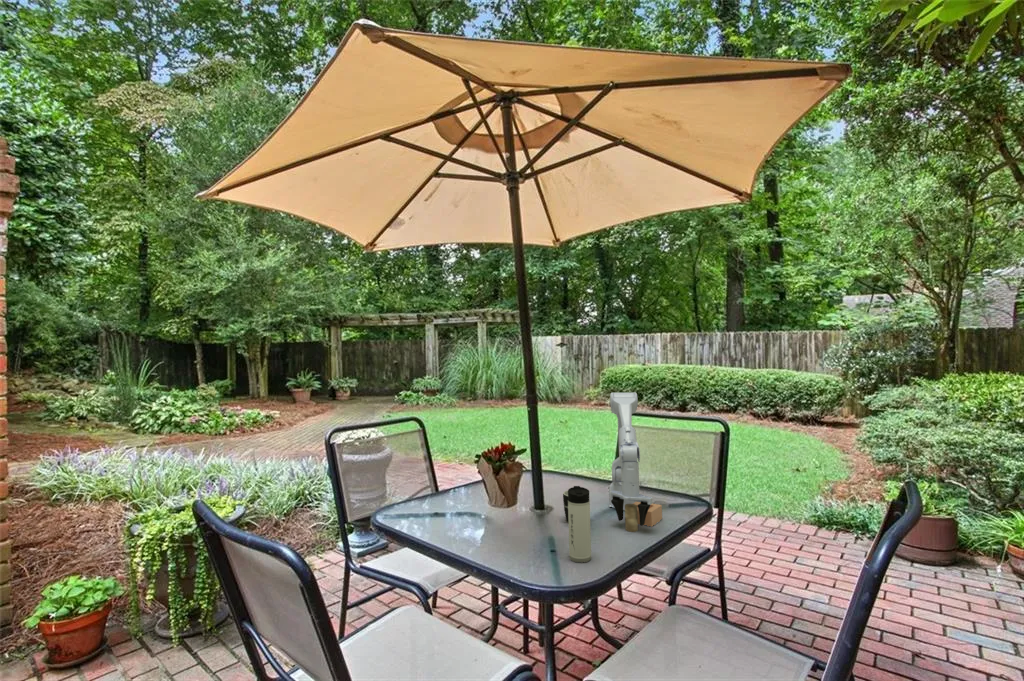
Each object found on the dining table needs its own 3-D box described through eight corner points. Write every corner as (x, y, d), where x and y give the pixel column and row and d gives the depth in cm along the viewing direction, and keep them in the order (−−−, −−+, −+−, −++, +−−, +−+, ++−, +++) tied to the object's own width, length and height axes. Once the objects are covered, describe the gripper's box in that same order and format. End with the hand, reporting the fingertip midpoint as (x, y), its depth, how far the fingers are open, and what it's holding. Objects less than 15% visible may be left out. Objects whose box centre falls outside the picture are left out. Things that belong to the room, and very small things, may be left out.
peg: (623, 530, 163) (622, 506, 163) (628, 526, 166) (628, 502, 166) (634, 532, 160) (633, 508, 161) (639, 529, 164) (639, 505, 164)
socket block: (627, 521, 171) (626, 507, 171) (637, 514, 178) (637, 500, 178) (651, 527, 165) (651, 512, 165) (662, 519, 172) (661, 505, 172)
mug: (559, 519, 175) (559, 490, 175) (583, 516, 177) (582, 488, 177) (573, 531, 163) (572, 500, 163) (597, 527, 166) (597, 497, 166)
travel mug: (588, 552, 146) (586, 485, 146) (593, 562, 139) (591, 491, 139) (567, 553, 145) (566, 485, 146) (571, 563, 139) (569, 492, 139)
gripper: (604, 480, 165) (606, 521, 165) (645, 487, 156) (647, 530, 156) (614, 476, 170) (615, 515, 170) (654, 482, 161) (656, 523, 161)
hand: (631, 522), depth 163 cm, fingers open, 7 cm apart
